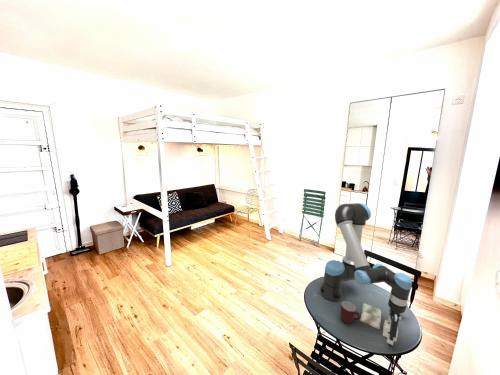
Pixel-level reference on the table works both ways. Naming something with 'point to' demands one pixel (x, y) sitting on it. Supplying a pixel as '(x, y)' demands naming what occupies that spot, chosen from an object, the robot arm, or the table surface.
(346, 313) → the mug
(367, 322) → the board
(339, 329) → the table surface
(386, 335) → the die
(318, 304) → the table surface
